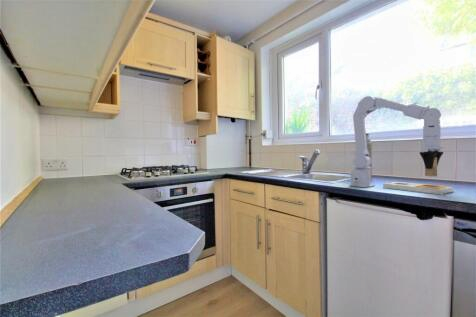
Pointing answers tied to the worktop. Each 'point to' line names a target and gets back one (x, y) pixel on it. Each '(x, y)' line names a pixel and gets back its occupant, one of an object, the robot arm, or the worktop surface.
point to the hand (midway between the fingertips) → (431, 168)
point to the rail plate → (419, 187)
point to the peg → (432, 171)
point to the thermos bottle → (369, 148)
